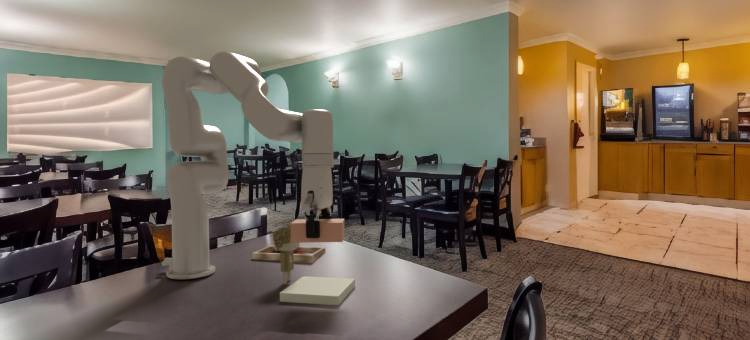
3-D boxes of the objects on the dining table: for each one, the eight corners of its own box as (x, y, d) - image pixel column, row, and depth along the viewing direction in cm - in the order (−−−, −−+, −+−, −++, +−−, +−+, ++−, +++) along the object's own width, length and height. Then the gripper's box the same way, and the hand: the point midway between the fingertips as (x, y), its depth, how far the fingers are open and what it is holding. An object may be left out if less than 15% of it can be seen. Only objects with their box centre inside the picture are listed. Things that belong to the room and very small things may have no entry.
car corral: (252, 264, 129) (252, 253, 129) (270, 255, 141) (270, 245, 141) (312, 266, 125) (312, 255, 125) (325, 257, 137) (325, 247, 137)
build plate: (279, 301, 94) (279, 292, 94) (303, 283, 108) (303, 276, 108) (338, 305, 91) (338, 296, 91) (355, 286, 105) (354, 278, 105)
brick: (290, 242, 95) (290, 223, 95) (296, 237, 102) (296, 219, 102) (342, 241, 96) (342, 222, 95) (344, 236, 103) (344, 218, 102)
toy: (293, 286, 105) (292, 228, 105) (269, 285, 107) (268, 227, 106) (304, 278, 113) (303, 223, 112) (281, 277, 114) (280, 223, 114)
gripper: (316, 162, 108) (317, 228, 108) (288, 162, 91) (289, 241, 91) (343, 161, 106) (344, 229, 107) (320, 161, 89) (321, 241, 90)
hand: (319, 234), depth 99 cm, fingers closed on brick, 7 cm apart
